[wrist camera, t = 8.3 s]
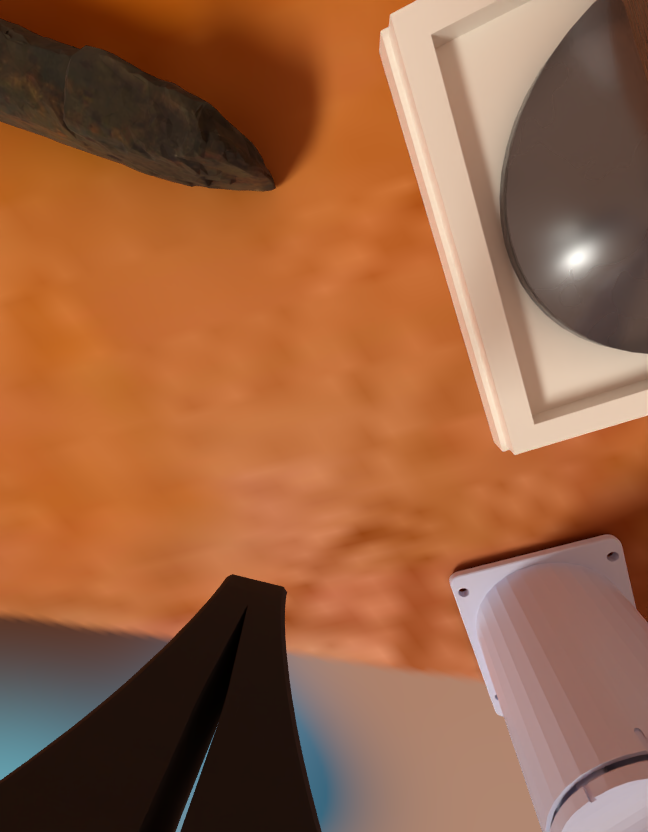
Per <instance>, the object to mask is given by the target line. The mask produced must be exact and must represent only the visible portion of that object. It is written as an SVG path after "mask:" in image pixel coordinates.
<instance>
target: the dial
mask: <svg viewBox="0 0 648 832" xmlns="http://www.w3.org/2000/svg"><path fill="white" fill-rule="evenodd" d="M499 202H500V221H501V227H502V233H503V238H504V244H505V247H506V250H507V253H508V256H509V259H510V262H511V265H512V267H513V269H514V271H515V273H516V275H517V277H518V279H519V281H520V283H521V285H522V287H523V288H524V289H525V291H526V292H527V294H528V295H529V297H530V298H531V299H532V301H533V302H534V303H535V304H536V305H537V306H538V307H539V308H540V309H541V310H542V311H543V312H544V314H545V315H546V316H548V317H549V318H550V319H551V320H553V321H554V322H555V323H557V324H558V325H559V326H561V327H562V328H563V329H565V330H567V331H569V332H571V333H572V334H574V335H576V336H578V337H579V338H582V339H585V340H587V341H590V342H592V343H595V344H598V345H601V346H605V347H610V348H614V349H618V350H623V351H628V352H634V353H644V354H648V0H596V1H595V2H594V3H593V4H592V5H591V6H590V7H589V8H588V10H587V11H586V12H585V13H584V14H583V15H582V16H581V17H580V19H579V20H578V21H577V22H576V23H575V24H574V25H573V27H572V28H571V29H570V30H569V31H568V33H567V34H566V35H565V37H564V38H563V39H562V40H561V42H560V43H559V44H558V46H557V47H556V48H555V50H554V51H553V53H552V54H551V55H550V57H549V58H548V60H547V61H546V62H545V64H544V65H543V67H542V68H541V69H540V71H539V73H538V75H537V76H536V78H535V80H534V82H533V83H532V85H531V87H530V89H529V90H528V92H527V94H526V96H525V98H524V100H523V103H522V105H521V107H520V110H519V112H518V114H517V117H516V119H515V121H514V124H513V127H512V130H511V134H510V137H509V140H508V143H507V147H506V151H505V156H504V161H503V166H502V172H501V182H500V196H499Z"/></svg>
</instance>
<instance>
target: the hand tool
mask: <svg viewBox="0 0 648 832" xmlns="http://www.w3.org/2000/svg"><path fill="white" fill-rule="evenodd" d="M0 121H1V122H4V123H7V124H9V125H12V126H15V127H18V128H21V129H24V130H27V131H30V132H33V133H36V134H39V135H42V136H45V137H48V138H50V139H52V140H55V141H57V142H60V143H62V144H65V145H68V146H71V147H74V148H77V149H80V150H83V151H85V152H88V153H91V154H94V155H97V156H100V157H103V158H106V159H109V160H112V161H115V162H118V163H121V164H123V165H126V166H128V167H130V168H132V169H134V170H137V171H139V172H142V173H145V174H148V175H151V176H155V177H158V178H162V179H165V180H168V181H172V182H176V183H180V184H184V185H187V186H191V187H192V186H203V187H208V188H217V189H229V190H252V191H269V190H273V189H275V188H276V187H275V184H274V181H273V178H272V175H271V174H270V172H269V170H268V169H267V168H266V166H265V164H264V161H263V159H262V157H261V155H260V154H259V152H258V150H257V149H256V147H255V146H254V145H253V144H252V142H251V141H249V140H248V139H247V138H246V137H245V136H244V135H243V134H242V133H240V132H239V131H238V130H237V129H236V128H235V127H234V126H233V125H231V124H230V123H229V122H228V121H227V120H226V119H225V118H224V117H223V116H222V115H221V114H220V113H219V112H218V111H217V110H216V109H215V108H214V107H213V106H212V105H211V104H209V103H208V102H206V101H204V100H202V99H200V98H199V97H197V96H195V95H193V94H191V93H189V92H187V91H185V90H184V89H182V88H181V87H179V86H178V85H176V84H174V83H172V82H168V81H164V80H161V79H158V78H156V77H153V76H151V75H149V74H147V73H145V72H143V71H141V70H140V69H138V68H137V67H135V66H134V65H132V64H130V63H128V62H126V61H124V60H123V59H121V58H119V57H118V56H116V55H114V54H113V53H110V52H107V51H105V50H102V49H99V48H95V47H91V46H84V47H83V48H82V49H78V48H75V47H73V46H69V45H66V44H63V43H60V42H58V41H55V40H53V39H50V38H47V37H42V36H40V35H37V34H35V33H33V32H31V31H29V30H27V29H25V28H23V27H22V26H20V25H17V24H14V23H11V22H7V21H5V20H3V19H0Z"/></svg>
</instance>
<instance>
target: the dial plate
mask: <svg viewBox="0 0 648 832" xmlns="http://www.w3.org/2000/svg"><path fill="white" fill-rule="evenodd" d="M595 1H596V0H416V1H415V2H413V3H411V4H409V5H407V6H405V7H403V8H401V9H400V10H398V11H396V12H394V13H392V14H390V21H389V27H387V28H385V29H383V30H382V31H381V32H380V48H379V53H380V56H381V60H382V63H383V66H384V70H385V73H386V77H387V80H388V83H389V87H390V90H391V94H392V97H393V100H394V104H395V107H396V111H397V114H398V117H399V121H400V124H401V128H402V131H403V134H404V138H405V141H406V145H407V148H408V151H409V155H410V158H411V162H412V165H413V168H414V172H415V175H416V179H417V182H418V185H419V189H420V192H421V196H422V199H423V202H424V206H425V209H426V213H427V216H428V219H429V223H430V226H431V230H432V233H433V236H434V240H435V243H436V247H437V250H438V253H439V257H440V260H441V264H442V267H443V270H444V274H445V277H446V281H447V284H448V287H449V291H450V294H451V298H452V301H453V304H454V308H455V311H456V315H457V318H458V321H459V325H460V328H461V332H462V335H463V338H464V342H465V345H466V349H467V352H468V355H469V359H470V362H471V366H472V369H473V372H474V376H475V379H476V383H477V386H478V389H479V393H480V396H481V400H482V403H483V406H484V410H485V413H486V417H487V420H488V423H489V427H490V430H491V434H492V437H493V440H494V443H495V444H496V445H497V446H498V447H499V448H500V449H501V450H502V451H503V452H504V451H507V450H511V452H512V453H513V454H514V455H516V454H520V453H523V452H526V451H530V450H533V449H536V448H540V447H543V446H546V445H550V444H553V443H556V442H560V441H563V440H566V439H570V438H573V437H577V436H580V435H583V434H587V433H590V432H593V431H597V430H600V429H603V428H607V427H610V426H613V425H617V424H620V423H624V422H627V421H630V420H634V419H637V418H640V417H644V416H647V415H648V354H644V353H634V352H628V351H623V350H618V349H614V348H610V347H605V346H601V345H598V344H595V343H592V342H590V341H587V340H585V339H582V338H579V337H578V336H576V335H574V334H572V333H571V332H569V331H567V330H565V329H563V328H562V327H561V326H559V325H558V324H557V323H555V322H554V321H553V320H551V319H550V318H549V317H548V316H546V315H545V314H544V312H543V311H542V310H541V309H540V308H539V307H538V306H537V305H536V304H535V303H534V302H533V301H532V299H531V298H530V297H529V295H528V294H527V292H526V291H525V289H524V288H523V287H522V285H521V283H520V281H519V279H518V277H517V275H516V273H515V271H514V269H513V267H512V265H511V262H510V259H509V256H508V253H507V250H506V247H505V244H504V238H503V233H502V227H501V221H500V202H499V196H500V182H501V172H502V166H503V161H504V156H505V151H506V147H507V143H508V140H509V137H510V134H511V130H512V127H513V124H514V121H515V119H516V117H517V114H518V112H519V110H520V107H521V105H522V103H523V100H524V98H525V96H526V94H527V92H528V90H529V89H530V87H531V85H532V83H533V82H534V80H535V78H536V76H537V75H538V73H539V71H540V69H541V68H542V67H543V65H544V64H545V62H546V61H547V60H548V58H549V57H550V55H551V54H552V53H553V51H554V50H555V48H556V47H557V46H558V44H559V43H560V42H561V40H562V39H563V38H564V37H565V35H566V34H567V33H568V31H569V30H570V29H571V28H572V27H573V25H574V24H575V23H576V22H577V21H578V20H579V19H580V17H581V16H582V15H583V14H584V13H585V12H586V11H587V10H588V8H589V7H590V6H591V5H592V4H593V3H594V2H595Z"/></svg>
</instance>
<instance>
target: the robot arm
mask: <svg viewBox="0 0 648 832" xmlns="http://www.w3.org/2000/svg"><path fill="white" fill-rule="evenodd" d="M611 552H614V553H613V554H612V555H611V556H607V555H608V554H609V553H611ZM449 581H450V585H451V588H452V591H453V594H454V597H455V599H456V602H457V605H458V608H459V611H460V614H461V616H462V619H463V622H464V625H465V628H466V630H467V633H468V636H469V639H470V642H471V645H472V647H473V650H474V653H475V656H476V659H477V661H478V664H479V667H480V670H481V673H482V675H483V678H484V681H485V684H486V687H487V690H488V692H489V695H490V698H491V701H492V704H493V706H494V709H495V712H496V713H497V714H498V715H500V716H503V717H504V719H505V722H506V725H507V727H508V730H509V733H510V736H511V739H512V742H513V745H514V748H515V751H516V754H517V757H518V760H519V763H520V766H521V769H522V772H523V775H524V778H525V781H526V784H527V787H528V790H529V793H530V796H531V799H532V802H533V805H534V808H535V811H536V814H537V817H538V820H539V823H540V826H541V829H542V832H648V622H647V621H646V620H645V619H644V618H643V616H642V615H641V614H640V613H639V612H638V611H637V610H636V605H635V601H634V596H633V592H632V588H631V583H630V579H629V574H628V570H627V566H626V561H625V557H624V552H623V548H622V544H621V542H620V541H619V540H618V539H617V538H616V537H615V536H613V535H610V534H606V535H601V536H597V537H593V538H589V539H585V540H581V541H577V542H573V543H569V544H565V545H561V546H557V547H553V548H549V549H545V550H541V551H537V552H533V553H529V554H525V555H521V556H517V557H513V558H509V559H505V560H501V561H498V562H494V563H490V564H486V565H482V566H478V567H474V568H470V569H466V570H462V571H458V572H455V573H453V574H452V575H451V576H450V578H449ZM462 588H466V590H465V591H459V590H460V589H462ZM286 594H287V592H286V590H285V589H284V587H282V586H278V585H274V584H270V583H266V582H261V581H257V580H253V579H249V578H245V577H241V576H237V575H233V574H232V575H230V576H228V577H227V578H226V579H225V580H224V582H223V583H222V584H221V586H220V587H219V588H218V589H217V591H216V592H215V593H214V594H213V596H212V597H211V598H210V599H209V600H208V601H207V603H206V604H205V605H204V606H203V607H202V608H201V609H200V610H199V612H198V613H197V614H196V615H195V616H194V617H193V618H192V619H191V620H190V621H189V622H188V623H187V624H186V625H185V626H184V627H183V628H182V629H181V630H180V631H179V633H178V634H177V635H176V636H175V637H174V638H173V639H172V640H171V641H170V642H169V643H168V644H167V645H166V646H165V647H164V648H163V649H162V650H161V651H160V652H158V653H157V654H156V655H155V656H154V657H153V658H152V659H151V660H150V661H149V662H148V663H147V664H146V665H144V666H143V667H142V668H141V669H140V670H139V671H138V672H137V673H136V674H135V675H134V676H132V678H130V679H129V680H128V681H127V682H126V683H125V684H124V685H122V686H121V687H120V688H119V689H118V690H117V691H115V692H114V693H113V694H112V695H111V696H110V697H109V698H107V699H106V700H105V701H104V702H102V703H101V704H100V705H99V706H98V707H97V708H95V709H94V710H93V711H91V712H90V713H89V714H88V715H87V716H85V717H84V718H83V719H82V720H80V721H79V722H78V723H77V724H75V725H74V726H73V727H72V728H70V729H69V730H68V731H66V732H65V733H64V734H62V735H61V736H60V737H58V738H57V739H56V740H54V741H53V742H52V743H50V744H49V745H48V746H47V747H45V748H44V749H43V750H41V751H40V752H39V753H37V754H36V755H35V756H33V757H32V758H31V759H29V760H28V761H27V762H25V763H24V764H22V765H21V766H20V767H18V768H17V769H16V770H14V771H13V772H11V773H10V774H9V775H7V776H6V777H4V778H3V779H2V780H0V832H175V831H176V829H177V826H178V823H179V821H180V818H181V815H182V813H183V810H184V808H185V805H186V803H187V800H188V798H189V795H190V793H191V790H192V788H193V785H194V783H195V780H196V778H197V775H198V773H199V770H200V767H201V765H202V763H203V760H204V758H205V755H206V753H207V750H208V748H209V745H210V743H211V740H212V738H213V740H212V743H211V746H210V749H209V752H208V754H207V757H206V760H205V763H204V766H203V769H202V772H201V775H200V778H199V781H198V783H197V786H196V789H195V792H194V795H193V798H192V800H191V803H190V806H189V809H188V812H187V814H186V818H185V820H184V823H183V826H182V829H181V832H321V828H320V824H319V821H318V817H317V813H316V809H315V805H314V801H313V797H312V793H311V789H310V785H309V781H308V777H307V772H306V768H305V764H304V760H303V755H302V750H301V746H300V740H299V735H298V730H297V725H296V719H295V713H294V707H293V701H292V695H291V688H290V681H289V671H288V662H287V653H286V640H285V602H286ZM218 722H219V723H218ZM216 727H217V728H216ZM215 730H216V731H215ZM214 732H215V734H214ZM213 735H214V737H213Z"/></svg>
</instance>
